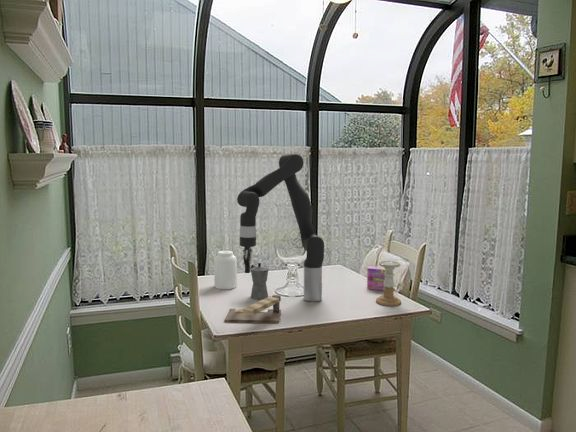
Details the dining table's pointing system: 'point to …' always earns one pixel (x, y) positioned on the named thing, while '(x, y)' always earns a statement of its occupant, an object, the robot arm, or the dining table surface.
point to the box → (375, 277)
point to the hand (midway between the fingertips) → (247, 272)
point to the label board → (255, 315)
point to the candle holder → (388, 285)
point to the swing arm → (262, 305)
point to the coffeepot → (259, 282)
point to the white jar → (225, 270)
